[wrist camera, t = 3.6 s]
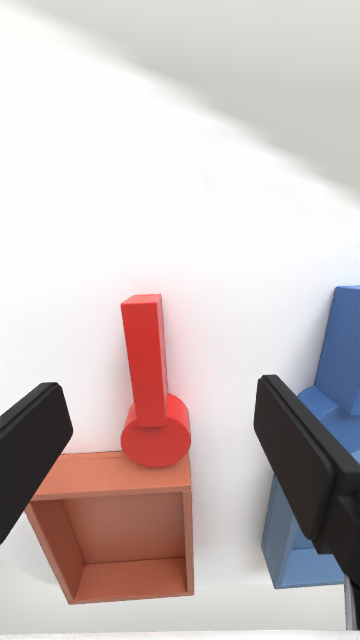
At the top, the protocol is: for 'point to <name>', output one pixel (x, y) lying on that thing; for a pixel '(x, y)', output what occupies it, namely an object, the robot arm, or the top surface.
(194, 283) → the top surface
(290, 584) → the blue tray
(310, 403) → the blue spoon
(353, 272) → the top surface
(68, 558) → the red tray
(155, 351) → the red spoon
